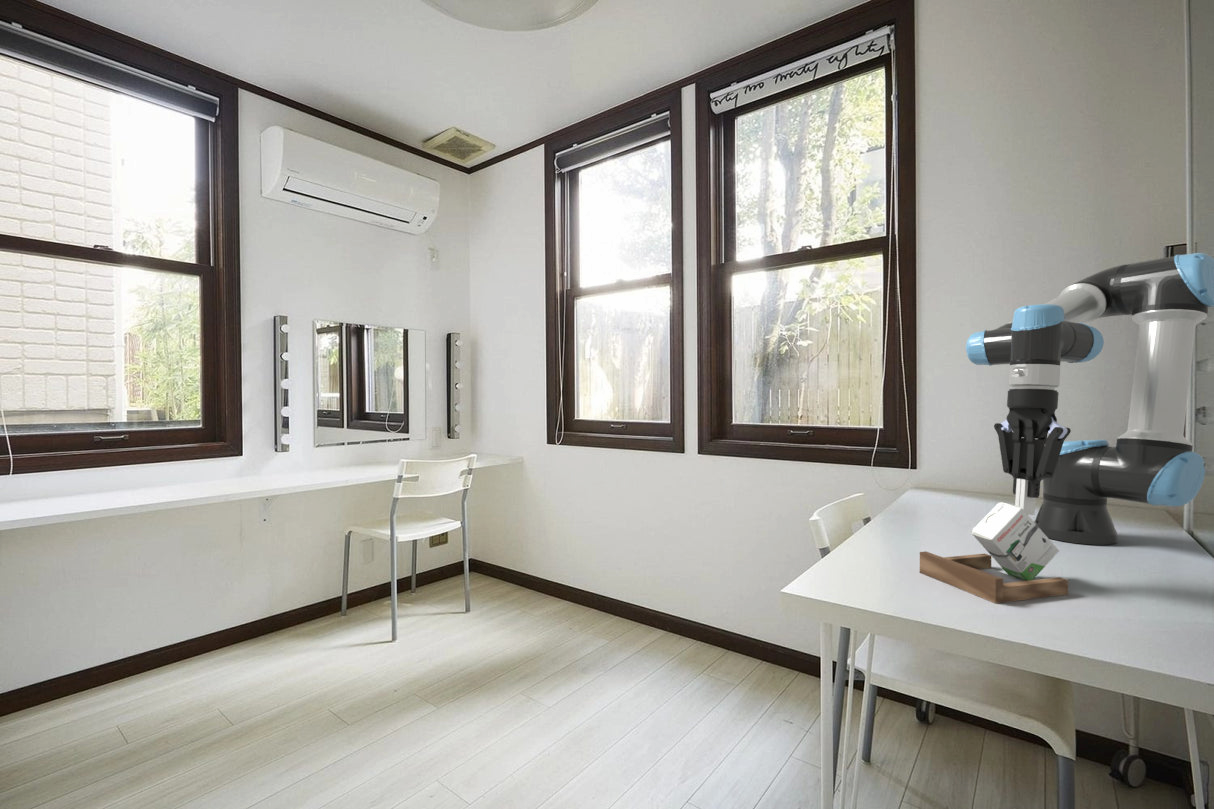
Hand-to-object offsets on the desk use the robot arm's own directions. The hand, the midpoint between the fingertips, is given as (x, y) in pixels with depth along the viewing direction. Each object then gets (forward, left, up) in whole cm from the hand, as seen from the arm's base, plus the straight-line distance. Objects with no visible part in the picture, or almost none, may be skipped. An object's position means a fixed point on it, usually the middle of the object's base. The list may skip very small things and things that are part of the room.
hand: (1024, 513), depth 103 cm
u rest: (+9, +1, -12) cm, 15 cm away
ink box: (-1, +1, -9) cm, 9 cm away
